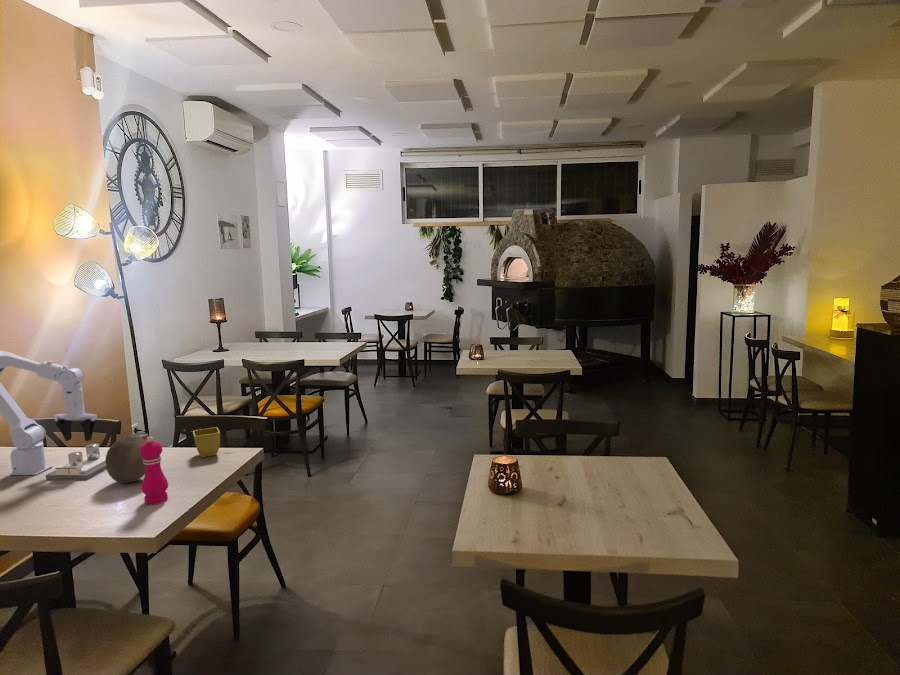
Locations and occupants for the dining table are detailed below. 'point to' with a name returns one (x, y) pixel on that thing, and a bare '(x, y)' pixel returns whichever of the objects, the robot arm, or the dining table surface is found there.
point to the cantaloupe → (126, 459)
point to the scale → (79, 470)
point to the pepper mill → (153, 473)
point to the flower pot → (207, 441)
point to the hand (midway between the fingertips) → (78, 440)
